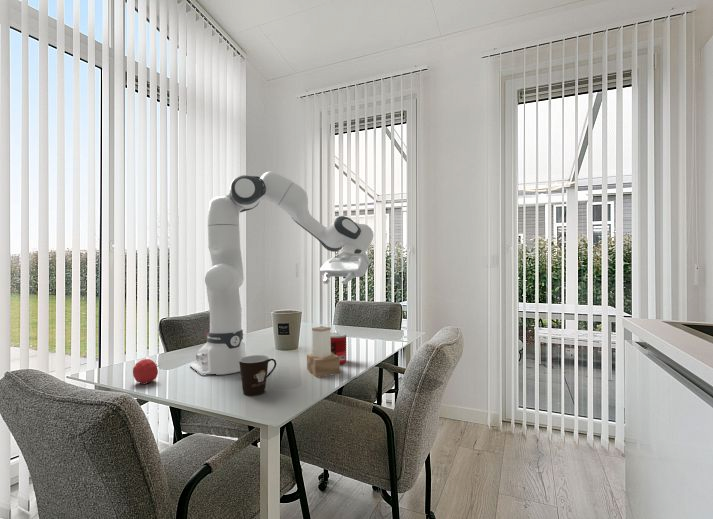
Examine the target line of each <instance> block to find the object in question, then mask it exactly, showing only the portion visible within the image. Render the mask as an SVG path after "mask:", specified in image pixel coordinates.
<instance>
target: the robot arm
mask: <svg viewBox="0 0 713 519" xmlns="http://www.w3.org/2000/svg"><path fill="white" fill-rule="evenodd" d="M262 200H266V201H269V202H272V203H273V204H274V205H276V206H278V207H279V208H281V209H282V210H283V211H285V212H286V213H287V214H288V215H289V216H290V218H291V219H292V220H293V221H294V222H295V223H296V224H297V225H299V226H300V227H301V228H302V229H303V230H304V231H306V232H308V233H309V234H310V235H311V236H312V237H314V238H315V239H317V241H318V242H319V243H320V244H321V245H322V247H323V248H324V249H326V250H327V251H330V252H335V253H336V252H339V251H340V252H339V253H338V256H334V257H331V258H328V259H326V260H325V262H324V263H323V264H322V266H321V267H320V269H319V271H320V273H321V275H322V276H323V277H324V278H323V280H322V282H323V283H322V284H325V285H327V284H329V282H330V280H329V279H331V277H332V278H335V277H337V278H342V280H341V284H342V285H348V284H349V282H351V281H352V280H353V279H354V278H361V277H363V276H365V274H366V273H367V271H368V269H369V266H370V265H371V263H372V261H371V259H370V257H369V256H368V254H367V251H369V250H368V249H370V246H371V244H372V242H373V239H374V231H373V229H372V228H371V227H370V226H369V225H367V224H365V223H359V222H355V221H354V220H352V218H350V217H348V216H346V215H340V216H338V217H336V218H335V219H334V220H333V221H332V222H331V224H330V225H329V226H328V227H326V226H325V225H323V224H322V223H321V222H319V220H317V219H315V217H313V216H312V215H311V213H310V211H309V197H308V195H307V192H306V190H305V189H304V188H303V187H302V186H300V185H299V184H297V183H296V182H294V181H293V180H291V179H289V178H287V177H286V176H284V175H282V174H280V173H278V172H275V171H272V170H269V171H268V170H267V171H266V172H264V173H263V174H262V175H261V176H256V175H249V174H248V175H246V174H242V175H238V176H236V177H235V178H234V179H233V180H232V181H231V183H230V185H229V193H227V195H219V196H215V197H213V198H212V199H211V200H210V201H209V205H208V211H207V239H208V240H207V242H208V245H207V246H208V247H207V248H208V250H209V255H210V259H211V267H210V268H209V269H208V270H207V272H206V274H205V277H204V283H205V287H206V294H207V301H208V302H207V303H208V306H209V307H208V308H209V332H208V333H207V334H206V341H207V342H205V344H203V346H202V347H200V348H199V349H198V350H197V352H196V356H195V359H196V362H193V363H190V364H189V367H190V366H191V367H192V368H194V369H195V370H196V371H198V372H199V373H201V374H203V375H202V376H205V375H204V374H216V375H221V376H222V375H229V374H234V373H235V374H236V373H240V364H239V359H241V358H243V357H247V354H246V353H247V352H246V344H245V342H243V340H244V330H243V328H242V326H243V324H242V323H243V322H242V305H241V298H240V288H241V287H242V285H243V283H244V279H245V278H244V267H243V257H242V252H241V251H242V250H241V236H240V235H241V234H240V232H241V231H240V230H241V229H240V214H241V213H243V212H246V211H249V210H253V209H254V208H256V207H258V205H259V203H260V201H262ZM344 277H345V278H344ZM192 368H191V369H192ZM195 370H194V371H195ZM196 371H195V372H196ZM198 372H197V373H198ZM199 373H198V374H199Z"/></svg>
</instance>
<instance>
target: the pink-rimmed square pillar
mask: <svg viewBox="0 0 713 519" xmlns="http://www.w3.org/2000/svg"><path fill="white" fill-rule="evenodd" d="M331 328H332V327H330V326H329V327H328V326H323V325H322V326H321V325H320V326H317V327H312V329H311V331H312V354H313V356H314V357H319V358H324V357H327V356H331V338H330V333H331Z"/></svg>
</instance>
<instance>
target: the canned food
mask: <svg viewBox="0 0 713 519" xmlns="http://www.w3.org/2000/svg"><path fill="white" fill-rule="evenodd" d="M330 338H331V352H332V353H333V354H335V355H337V356H339V357H340V364H341V365H344V364H346V362H347V334H346V333H345V332H340V331H339V332H330Z"/></svg>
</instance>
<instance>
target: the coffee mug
mask: <svg viewBox="0 0 713 519" xmlns="http://www.w3.org/2000/svg"><path fill="white" fill-rule="evenodd" d="M270 361H273V363H274V365H273V367H272V369H271V371H269V373H268V370H269V369H268V367H269V363H270ZM239 364H240V371H239V373H240V377H241V378H240V379H241V386H242V387H241V388H242V393H243V395H244V396H245V397H257V396H260V395H263V394H264V393H265V392H266V386H267V379H268V378H269V377H270V375H271V374H273V373H274V370H275V369H276V367H277V360H276V359H275V358H269V356H267V355H263V354H262V355H259V354H256V355H255V354H254V355H246V357H243V358H241V359H239Z"/></svg>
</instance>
